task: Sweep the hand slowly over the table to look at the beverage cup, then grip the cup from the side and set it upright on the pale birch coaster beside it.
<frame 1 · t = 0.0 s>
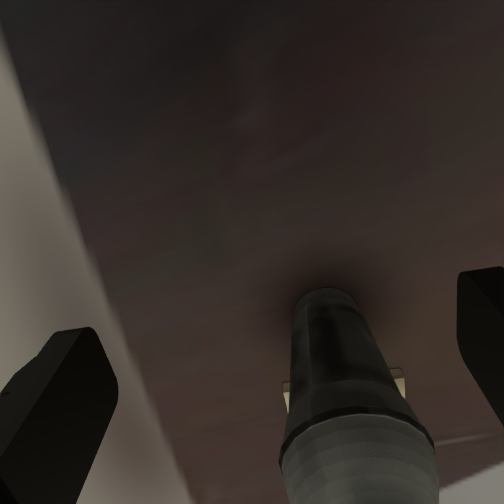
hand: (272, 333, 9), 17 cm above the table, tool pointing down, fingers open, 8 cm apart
beverage cup: (324, 312, 30), on the table
birch coaster: (346, 420, 35), on the table
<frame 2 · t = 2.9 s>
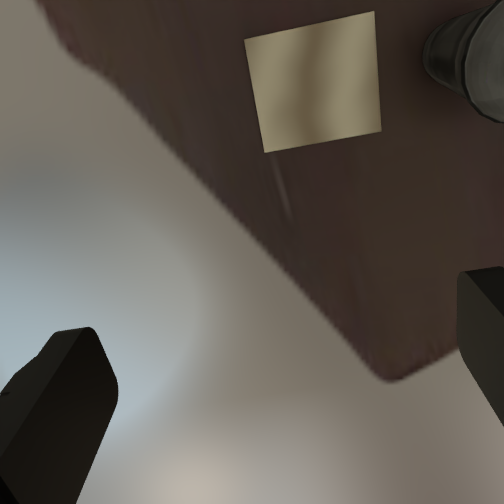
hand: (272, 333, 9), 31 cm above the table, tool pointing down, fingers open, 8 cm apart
beverage cup: (450, 51, 34), on the table
birch coaster: (314, 85, 36), on the table
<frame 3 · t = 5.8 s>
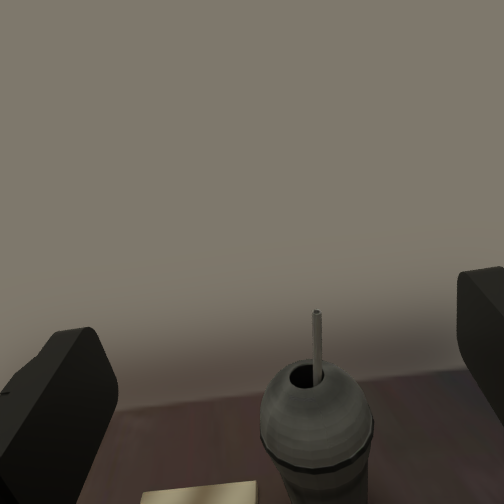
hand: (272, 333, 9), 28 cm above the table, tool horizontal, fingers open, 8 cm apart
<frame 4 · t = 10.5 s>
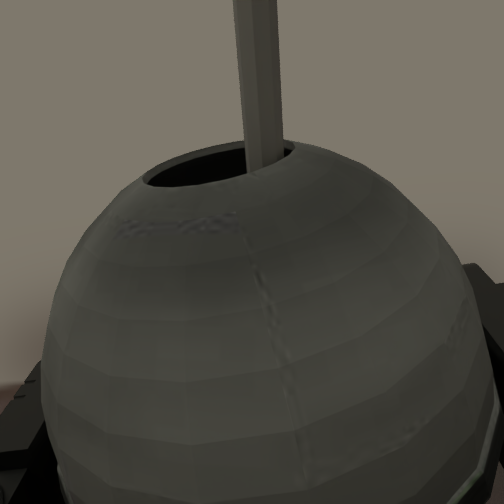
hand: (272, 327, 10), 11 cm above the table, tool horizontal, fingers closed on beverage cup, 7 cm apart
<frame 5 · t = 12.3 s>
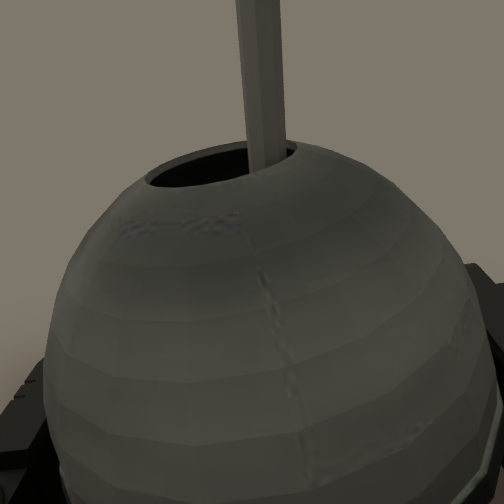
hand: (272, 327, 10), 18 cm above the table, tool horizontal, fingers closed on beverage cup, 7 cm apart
when the fingers open (13 cm above the table, at t = 14.6 s): beverage cup stays where it is, resting on birch coaster.
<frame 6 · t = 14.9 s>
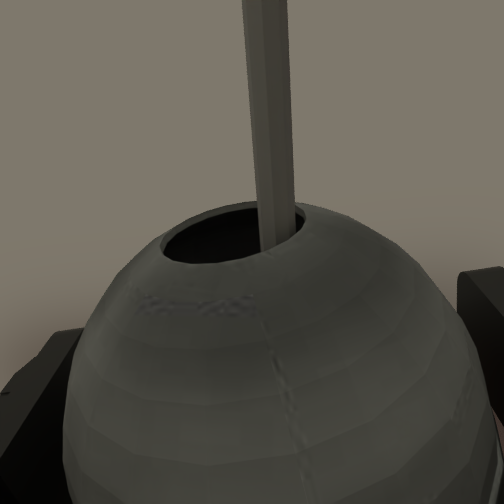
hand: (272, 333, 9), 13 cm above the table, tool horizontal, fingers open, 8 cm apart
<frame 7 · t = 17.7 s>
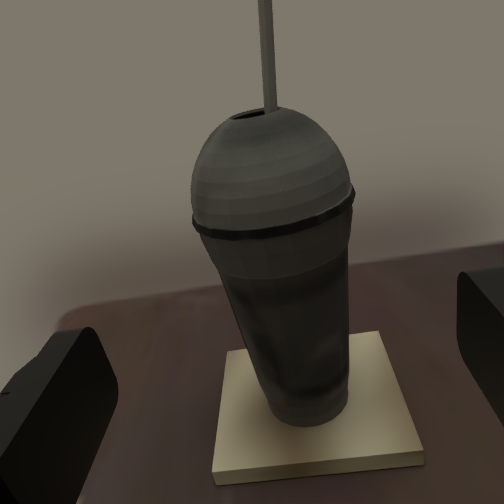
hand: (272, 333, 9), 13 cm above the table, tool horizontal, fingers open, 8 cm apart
beverage cup: (307, 397, 24), point 1 cm above the table, touching birch coaster
birch coaster: (309, 404, 25), on the table
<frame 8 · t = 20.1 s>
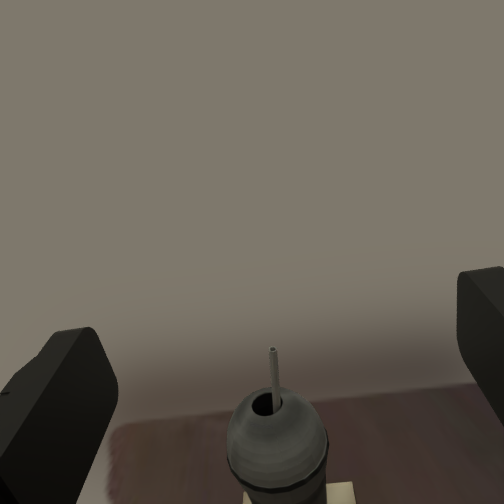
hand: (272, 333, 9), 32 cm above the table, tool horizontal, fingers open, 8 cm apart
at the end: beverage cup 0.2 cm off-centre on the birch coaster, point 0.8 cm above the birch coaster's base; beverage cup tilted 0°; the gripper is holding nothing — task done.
